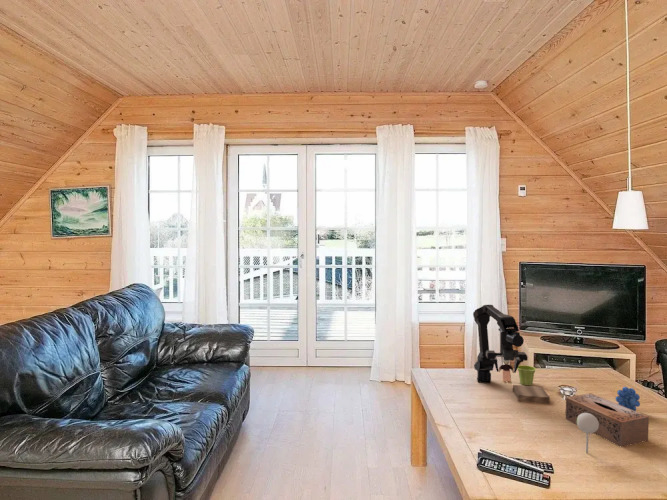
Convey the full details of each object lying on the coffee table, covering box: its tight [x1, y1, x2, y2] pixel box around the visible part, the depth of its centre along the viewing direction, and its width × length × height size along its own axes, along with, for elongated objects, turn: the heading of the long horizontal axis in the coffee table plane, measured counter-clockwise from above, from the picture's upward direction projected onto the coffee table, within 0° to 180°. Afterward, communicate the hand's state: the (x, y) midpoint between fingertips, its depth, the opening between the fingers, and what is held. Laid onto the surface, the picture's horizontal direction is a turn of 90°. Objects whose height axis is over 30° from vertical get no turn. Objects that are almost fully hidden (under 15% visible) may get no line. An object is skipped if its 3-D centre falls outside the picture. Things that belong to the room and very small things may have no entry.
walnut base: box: [512, 384, 551, 404], centre depth 214 cm, size 14×14×3 cm
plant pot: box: [517, 364, 537, 386], centre depth 232 cm, size 9×9×9 cm
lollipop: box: [576, 413, 599, 454], centre depth 160 cm, size 7×7×15 cm
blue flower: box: [615, 386, 641, 412], centre depth 194 cm, size 12×7×12 cm, turn 96°
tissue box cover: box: [565, 392, 650, 448], centre depth 179 cm, size 26×14×10 cm, turn 18°
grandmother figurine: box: [497, 358, 515, 384], centre depth 214 cm, size 8×4×13 cm, turn 92°
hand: (506, 372), depth 214 cm, fingers closed on grandmother figurine, 8 cm apart
